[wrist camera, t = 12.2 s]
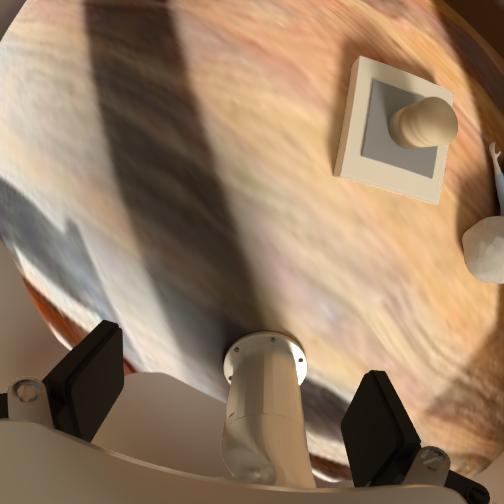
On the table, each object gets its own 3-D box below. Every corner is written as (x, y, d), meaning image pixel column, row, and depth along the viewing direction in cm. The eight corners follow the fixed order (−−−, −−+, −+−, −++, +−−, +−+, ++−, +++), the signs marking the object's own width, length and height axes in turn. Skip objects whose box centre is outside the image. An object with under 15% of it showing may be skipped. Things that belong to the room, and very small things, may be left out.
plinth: (424, 202, 38) (439, 205, 33) (332, 176, 38) (341, 176, 33) (439, 98, 34) (455, 92, 29) (351, 65, 34) (361, 54, 29)
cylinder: (420, 154, 32) (455, 151, 24) (385, 142, 32) (415, 136, 24) (424, 116, 31) (459, 106, 23) (390, 104, 31) (420, 89, 23)
